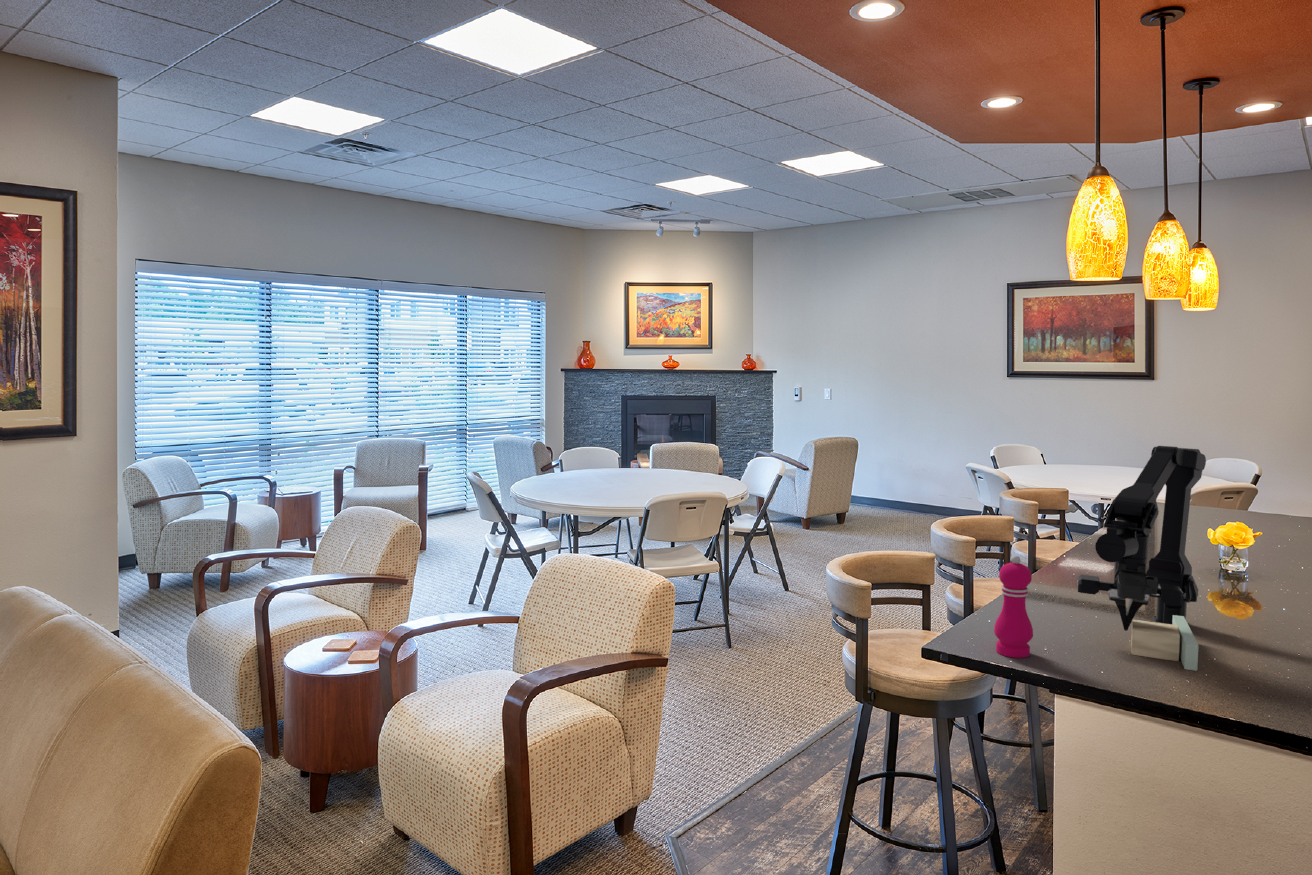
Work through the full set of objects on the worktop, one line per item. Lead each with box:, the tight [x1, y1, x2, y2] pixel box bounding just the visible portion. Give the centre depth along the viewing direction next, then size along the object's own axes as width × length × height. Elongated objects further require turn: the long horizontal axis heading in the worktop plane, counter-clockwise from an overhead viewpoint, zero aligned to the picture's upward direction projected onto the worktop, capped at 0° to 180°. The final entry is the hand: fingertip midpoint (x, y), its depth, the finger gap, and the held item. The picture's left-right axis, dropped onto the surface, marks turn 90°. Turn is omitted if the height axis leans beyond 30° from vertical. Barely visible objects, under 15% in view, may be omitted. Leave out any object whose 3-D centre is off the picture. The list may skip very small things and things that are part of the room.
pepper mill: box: [993, 555, 1034, 659], centre depth 166 cm, size 7×7×20 cm
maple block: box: [1130, 619, 1180, 662], centre depth 167 cm, size 8×8×5 cm
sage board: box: [1172, 615, 1199, 672], centre depth 166 cm, size 20×2×5 cm, turn 154°
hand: (1125, 630), depth 171 cm, fingers closed
